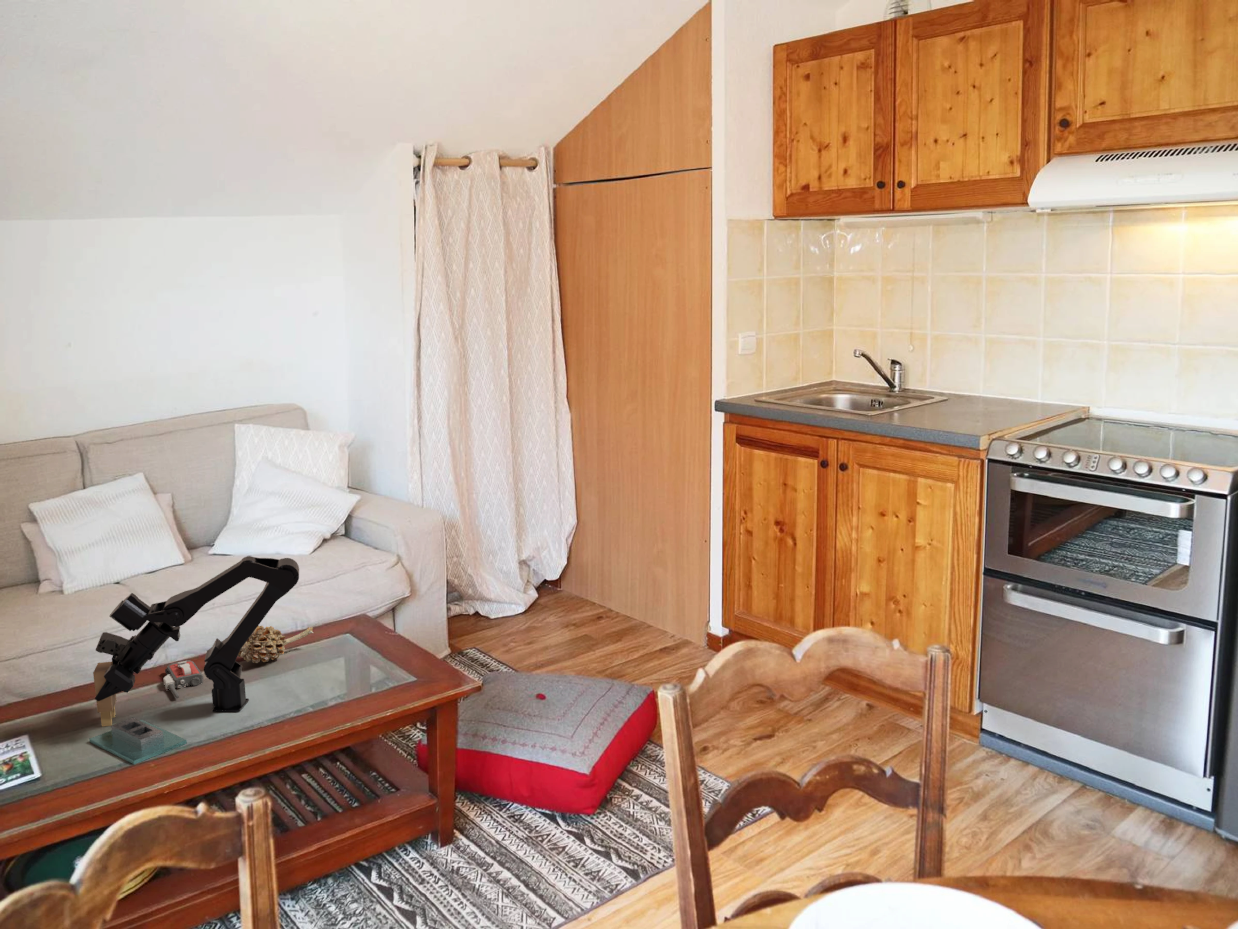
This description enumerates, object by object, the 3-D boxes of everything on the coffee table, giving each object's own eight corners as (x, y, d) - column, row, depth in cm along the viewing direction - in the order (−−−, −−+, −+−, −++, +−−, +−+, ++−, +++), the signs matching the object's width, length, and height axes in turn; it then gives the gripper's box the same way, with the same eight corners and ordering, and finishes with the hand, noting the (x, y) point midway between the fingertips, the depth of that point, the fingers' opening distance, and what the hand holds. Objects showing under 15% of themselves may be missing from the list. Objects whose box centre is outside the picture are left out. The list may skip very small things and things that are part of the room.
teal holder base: (89, 742, 234) (88, 728, 233) (141, 722, 243) (140, 709, 242) (134, 764, 223) (132, 749, 222) (186, 743, 232) (185, 729, 232)
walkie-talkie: (157, 676, 271) (172, 703, 254) (155, 659, 270) (171, 685, 254) (193, 669, 276) (211, 695, 259) (192, 652, 275) (209, 677, 258)
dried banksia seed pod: (249, 674, 270) (246, 637, 268) (228, 666, 276) (225, 629, 274) (323, 650, 287) (321, 614, 285) (302, 642, 293) (300, 607, 291)
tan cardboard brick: (103, 716, 247) (97, 663, 244) (118, 714, 247) (112, 661, 245) (99, 727, 241) (93, 672, 238) (113, 725, 242) (107, 671, 239)
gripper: (123, 608, 250) (76, 659, 249) (110, 635, 232) (59, 689, 231) (163, 637, 253) (117, 686, 252) (153, 665, 236) (103, 719, 235)
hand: (99, 694), depth 243 cm, fingers closed on tan cardboard brick, 6 cm apart
